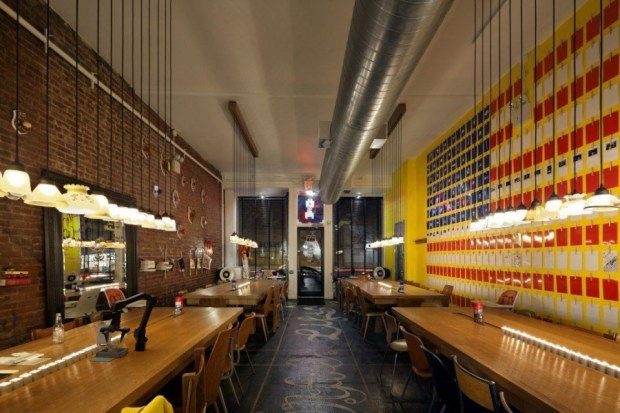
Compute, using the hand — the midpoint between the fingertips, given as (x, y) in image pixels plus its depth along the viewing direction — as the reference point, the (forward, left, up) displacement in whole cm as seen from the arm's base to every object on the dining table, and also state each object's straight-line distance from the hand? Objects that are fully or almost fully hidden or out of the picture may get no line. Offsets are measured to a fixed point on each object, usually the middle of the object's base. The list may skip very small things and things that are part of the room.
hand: (113, 342), depth 269 cm
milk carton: (+18, -26, -8) cm, 33 cm away
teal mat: (+1, +13, -8) cm, 15 cm away
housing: (0, 0, -8) cm, 8 cm away
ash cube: (0, 0, -5) cm, 5 cm away
